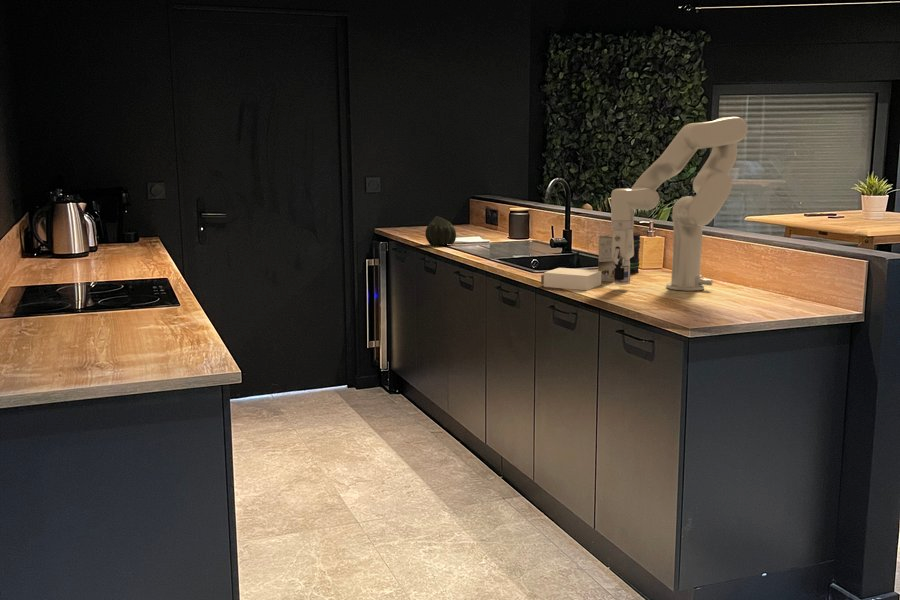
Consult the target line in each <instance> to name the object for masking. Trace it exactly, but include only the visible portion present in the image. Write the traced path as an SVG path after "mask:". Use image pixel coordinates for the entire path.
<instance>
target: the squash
mask: <svg viewBox="0 0 900 600" xmlns="http://www.w3.org/2000/svg"><path fill="white" fill-rule="evenodd" d="M424 236H425V239H426V241H427V242H428V244H429V245H431V246H433V247H439V246H443V245H445V246H446V245H447V244H452V245H454V244H455V242H456V238H457V232H456V229H455V227H454V225H453V224H452V223H451V221H449V220H447V219H445V218H443V217H440V216H438V215H436V216H435V217H434V218H433V219H432V220H431V221H430V223H428V225H427V227H426V228H425V235H424Z"/></svg>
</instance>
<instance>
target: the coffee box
mask: <svg viewBox="0 0 900 600" xmlns="http://www.w3.org/2000/svg"><path fill="white" fill-rule="evenodd" d="M598 239H599V240H598V258H597V259H598V263H597V264H598V267H597V271H601V282H611V283H614V259H613V257H612V241H613V234H611V235H599V237H598Z"/></svg>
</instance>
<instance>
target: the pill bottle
mask: <svg viewBox="0 0 900 600" xmlns="http://www.w3.org/2000/svg"><path fill="white" fill-rule="evenodd" d="M619 259H622V257H619ZM620 262H621V261H620ZM614 265H615V264H614ZM623 268H624V280H615V268H614V282H613V284H615V285H621V286H626V285H629V284H631V274H630V262H629V261H628V259H627V260H625V259H624V264H623Z"/></svg>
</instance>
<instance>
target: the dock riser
mask: <svg viewBox="0 0 900 600" xmlns="http://www.w3.org/2000/svg"><path fill="white" fill-rule="evenodd" d="M540 278H541V279H540V284H543V287H544V288H552V289H553V288H554V289H556V288H557V289H566V290H567V289H568V290H579V291H590V290H591V289H592V290H593V288H596V287H599V286H602V281H601V271H598V269H597V270H595V269H593V270H592V269H585V268H584V269H583V268H582V269H581V268H580V269H579V268H569V267H568V268H567V267H557V268H554V269H551V270H548V271H545V272H543V274H541V277H540Z"/></svg>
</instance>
